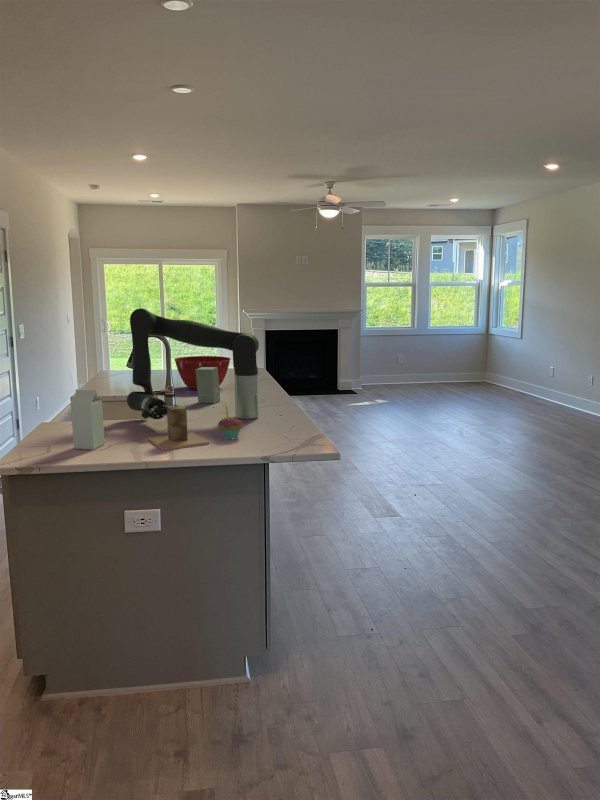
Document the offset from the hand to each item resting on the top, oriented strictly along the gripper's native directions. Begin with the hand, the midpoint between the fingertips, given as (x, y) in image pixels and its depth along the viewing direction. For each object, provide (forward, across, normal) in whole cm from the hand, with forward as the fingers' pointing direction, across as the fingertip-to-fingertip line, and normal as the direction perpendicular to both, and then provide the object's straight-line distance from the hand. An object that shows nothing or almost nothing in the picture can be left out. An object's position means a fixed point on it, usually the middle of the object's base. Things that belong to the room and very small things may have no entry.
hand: (168, 415), depth 216 cm
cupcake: (+13, +18, +8) cm, 23 cm away
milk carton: (+1, -27, +8) cm, 28 cm away
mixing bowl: (-90, +49, +8) cm, 103 cm away
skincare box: (-52, +36, +8) cm, 64 cm away
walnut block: (+10, 0, +7) cm, 12 cm away
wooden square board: (+10, 0, +7) cm, 12 cm away
